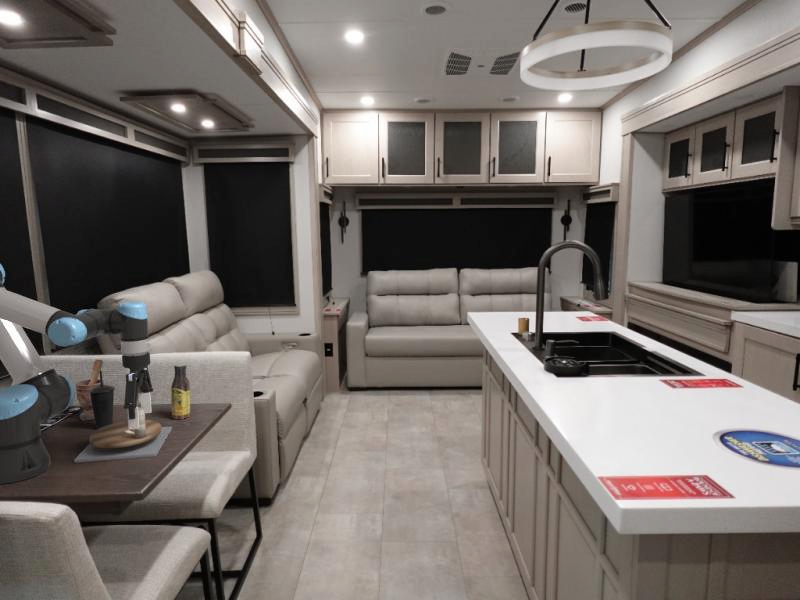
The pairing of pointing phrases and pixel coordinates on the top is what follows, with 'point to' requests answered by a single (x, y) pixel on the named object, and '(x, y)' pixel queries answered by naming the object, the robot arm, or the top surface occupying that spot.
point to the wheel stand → (125, 449)
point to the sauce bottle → (180, 393)
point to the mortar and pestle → (84, 388)
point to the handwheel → (125, 433)
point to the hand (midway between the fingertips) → (140, 420)
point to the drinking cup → (102, 403)
